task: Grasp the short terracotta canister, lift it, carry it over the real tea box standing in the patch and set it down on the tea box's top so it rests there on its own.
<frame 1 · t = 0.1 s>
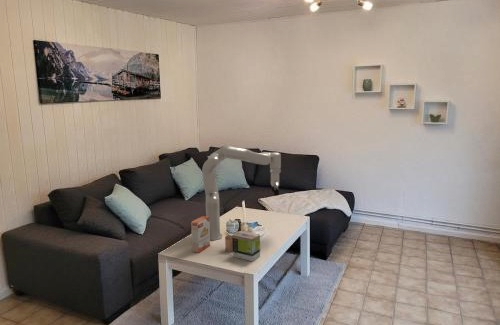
hand: (275, 193, 277), 31 cm above the table, fingers open, 9 cm apart
tea box: (246, 256, 247), on the table
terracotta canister: (230, 250, 256), on the table
cracker box: (201, 249, 259), on the table
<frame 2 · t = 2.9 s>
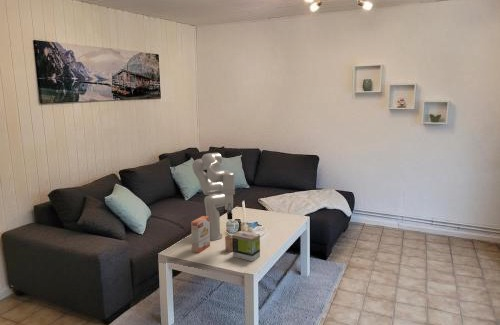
hand: (229, 216, 252), 23 cm above the table, fingers open, 9 cm apart
nothing on the table moved.
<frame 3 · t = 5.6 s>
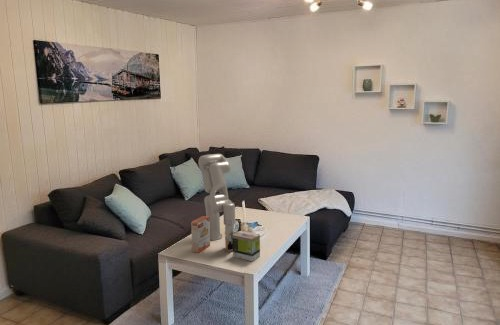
hand: (229, 247, 256), 2 cm above the table, fingers closed on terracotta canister, 6 cm apart
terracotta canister: (230, 250, 256), on the table, touching gripper
everything else where it was.
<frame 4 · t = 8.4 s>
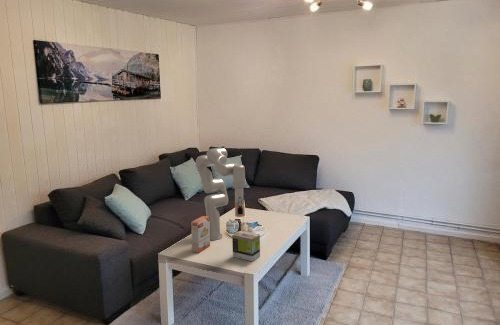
hand: (239, 212, 245), 28 cm above the table, fingers closed on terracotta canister, 6 cm apart
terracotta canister: (240, 215, 245), point 26 cm above the table, touching gripper
everything else where it was.
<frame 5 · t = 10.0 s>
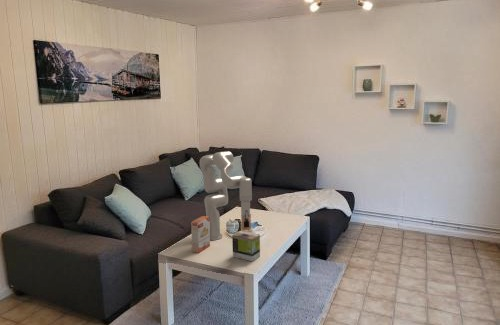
hand: (246, 225, 243), 21 cm above the table, fingers closed on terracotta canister, 6 cm apart
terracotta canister: (246, 228, 243), point 19 cm above the table, touching gripper
everything else where it was.
when the fingers open (18 cm above the table, at t = 11.4 s): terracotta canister drops 1 cm, resting on tea box.
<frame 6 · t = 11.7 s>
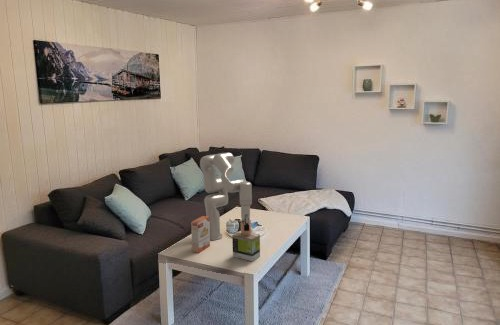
hand: (246, 227, 243), 19 cm above the table, fingers open, 9 cm apart
tea box: (246, 256, 247), on the table, touching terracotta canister
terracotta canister: (246, 234, 244), point 15 cm above the table, touching tea box
everything else where it was.
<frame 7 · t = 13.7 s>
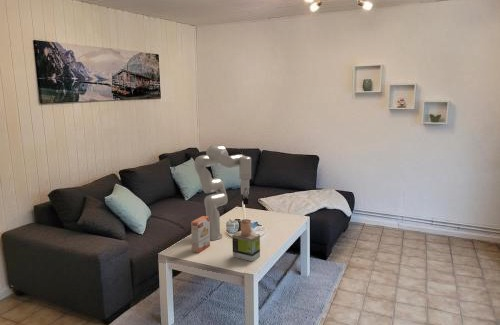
hand: (245, 202, 248), 34 cm above the table, fingers open, 9 cm apart
nothing on the table moved.
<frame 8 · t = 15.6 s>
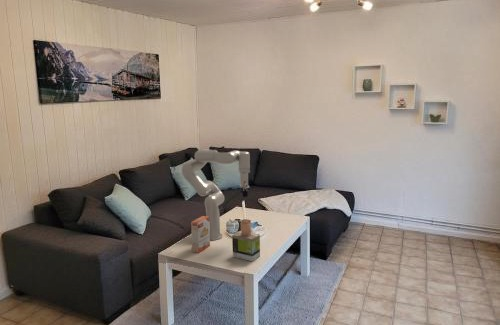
hand: (244, 194, 263), 34 cm above the table, fingers open, 9 cm apart
nothing on the table moved.
at the end: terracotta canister 0.1 cm from the tea box (horizontally); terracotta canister point 14.7 cm above the table; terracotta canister tilted 0° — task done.
